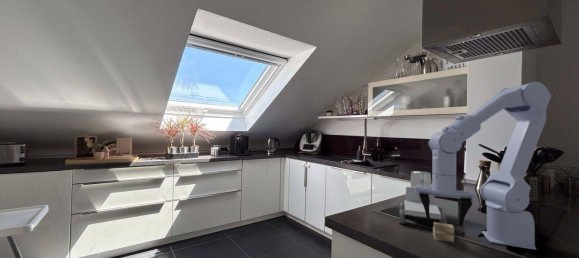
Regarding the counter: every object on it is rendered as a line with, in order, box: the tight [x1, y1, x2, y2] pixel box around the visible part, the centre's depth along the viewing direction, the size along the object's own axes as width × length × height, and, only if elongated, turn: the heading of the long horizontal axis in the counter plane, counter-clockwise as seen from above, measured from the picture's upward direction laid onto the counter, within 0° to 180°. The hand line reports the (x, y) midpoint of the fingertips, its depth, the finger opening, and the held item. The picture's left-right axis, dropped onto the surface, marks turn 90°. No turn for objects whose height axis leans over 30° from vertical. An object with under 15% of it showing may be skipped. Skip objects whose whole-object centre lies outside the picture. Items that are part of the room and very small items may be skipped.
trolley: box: [399, 186, 448, 225], centre depth 82 cm, size 13×13×10 cm
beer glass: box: [410, 170, 432, 187], centre depth 93 cm, size 7×7×15 cm
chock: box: [432, 221, 455, 243], centre depth 69 cm, size 4×5×4 cm
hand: (443, 222), depth 69 cm, fingers open, 7 cm apart
